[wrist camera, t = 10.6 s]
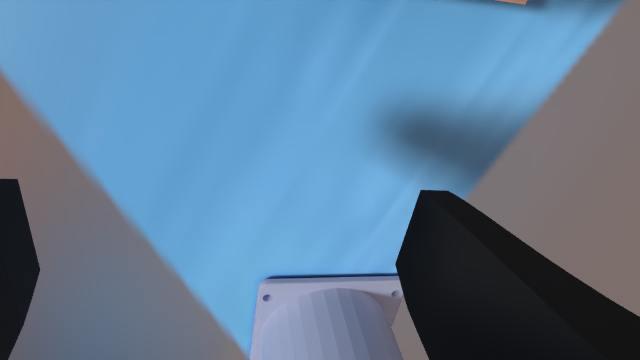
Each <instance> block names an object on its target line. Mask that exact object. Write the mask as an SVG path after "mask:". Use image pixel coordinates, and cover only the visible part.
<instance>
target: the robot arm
mask: <svg viewBox="0 0 640 360" xmlns="http://www.w3.org/2000/svg"><path fill="white" fill-rule="evenodd" d="M396 268H397V272H398V276H376V277H332V278H289V279H265V280H263V281H261V282H260V283H259V285H258V291H257V300H256V308H255V316H254V325H253V333H252V342H251V350H250V358H249V360H403V358H402V355H401V353H400V350H399V347H398V345H397V342H396V339H395V337H394V334H393V332H392V329H391V326H392V323H393V321H394V318H395V315H396V313H397V310H398V307H399V305H400V302H401V299H402V297H403V294H404V298H405V301H406V304H407V308H408V310H409V313H410V315H411V318H412V320H413V323H414V325H415V327H416V330H417V332H418V334H419V337H420V339H421V341H422V344H423V346H424V348H425V351H426V353H427V355H428V357H429V360H640V317H639V316H637V315H636V314H634V313H632V312H630V311H628V310H627V309H625V308H624V307H622V306H620V305H619V304H617V303H615V302H614V301H612V300H610V299H609V298H607V297H605V296H604V295H602V294H601V293H599V292H597V291H596V290H594V289H593V288H591V287H590V286H588V285H587V284H585V283H583V282H582V281H580V280H579V279H577V278H576V277H574V276H573V275H571V274H569V273H568V272H566V271H565V270H564V269H562V268H560V267H559V266H558V265H556V264H554V263H553V262H552V261H550V260H549V259H547V258H546V257H544V256H543V255H541V254H540V253H538V252H537V251H536V250H534V249H533V248H531V247H530V246H529V245H527V244H526V243H524V242H523V241H521V240H520V239H519V238H517V237H516V236H514V235H513V234H511V233H510V232H509V231H507V230H506V229H504V228H503V227H502V226H500V225H499V224H497V223H496V222H495V221H493V220H492V219H490V218H489V217H488V216H486V215H485V214H483V213H482V212H480V211H479V210H477V209H476V208H475V207H473V206H472V205H470V204H469V203H467V202H466V201H464V200H463V199H461V198H459V197H458V196H456V195H454V194H453V193H451V192H449V191H436V190H421V191H420V194H419V197H418V199H417V202H416V205H415V208H414V211H413V214H412V217H411V220H410V223H409V226H408V229H407V232H406V234H405V237H404V240H403V243H402V246H401V249H400V252H399V255H398V258H397V261H396ZM39 272H40V267H39V263H38V259H37V255H36V251H35V247H34V243H33V239H32V235H31V231H30V227H29V223H28V219H27V215H26V211H25V207H24V203H23V199H22V195H21V191H20V187H19V183H18V180H17V179H0V360H8V358H9V356H10V354H11V352H12V349H13V347H14V345H15V343H16V340H17V338H18V336H19V334H20V331H21V329H22V327H23V325H24V321H25V319H26V315H27V312H28V309H29V306H30V303H31V300H32V296H33V292H34V289H35V286H36V282H37V279H38V275H39ZM268 294H269V295H268ZM266 295H267V296H266Z"/></svg>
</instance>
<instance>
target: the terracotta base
mask: <svg viewBox="0 0 640 360" xmlns="http://www.w3.org/2000/svg"><path fill="white" fill-rule="evenodd" d="M497 1H504V2H511V3H518V4H524V5H525V4H526V2H527V0H497Z"/></svg>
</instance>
